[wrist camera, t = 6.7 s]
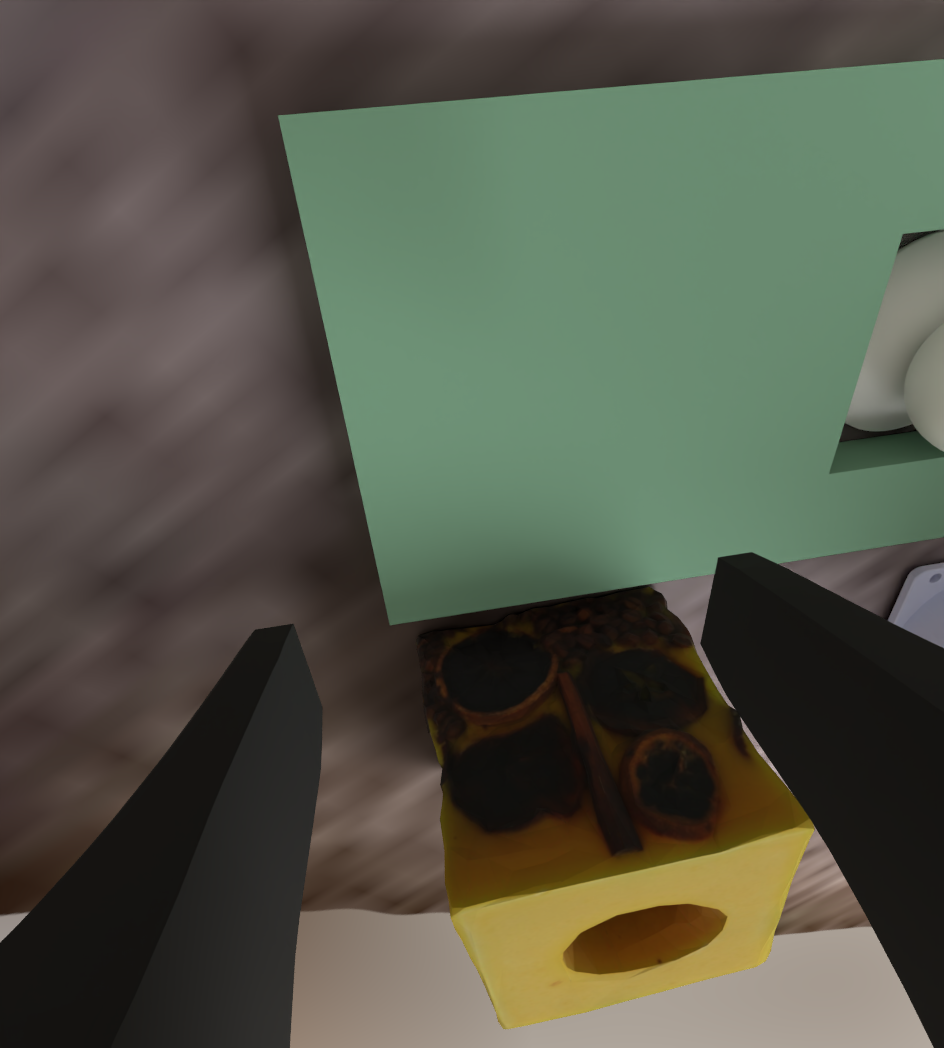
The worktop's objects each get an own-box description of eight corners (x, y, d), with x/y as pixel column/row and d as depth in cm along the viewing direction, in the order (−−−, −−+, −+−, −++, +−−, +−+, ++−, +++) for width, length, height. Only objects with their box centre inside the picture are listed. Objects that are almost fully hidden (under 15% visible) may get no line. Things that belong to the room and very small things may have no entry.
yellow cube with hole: (412, 629, 22) (433, 911, 13) (657, 575, 22) (829, 817, 14) (456, 776, 27) (491, 1040, 19) (651, 731, 28) (770, 970, 19)
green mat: (1199, 46, 15) (1306, 28, 13) (978, 497, 22) (1027, 524, 20) (291, 124, 13) (278, 115, 11) (389, 588, 20) (389, 625, 19)
